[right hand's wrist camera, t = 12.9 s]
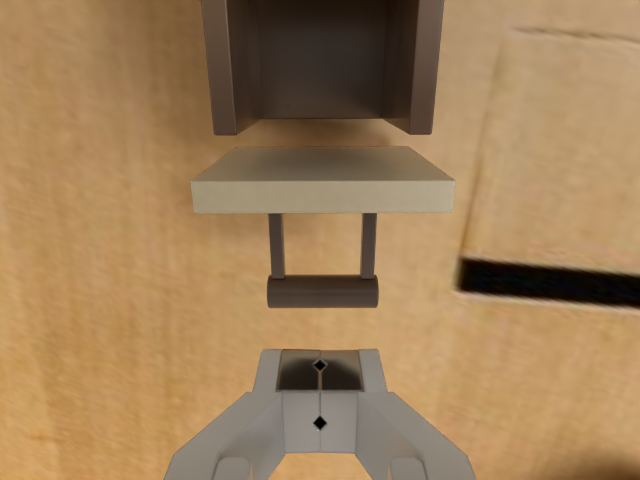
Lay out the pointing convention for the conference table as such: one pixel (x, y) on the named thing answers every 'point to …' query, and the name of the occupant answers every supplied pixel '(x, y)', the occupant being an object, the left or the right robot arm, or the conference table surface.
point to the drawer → (322, 103)
